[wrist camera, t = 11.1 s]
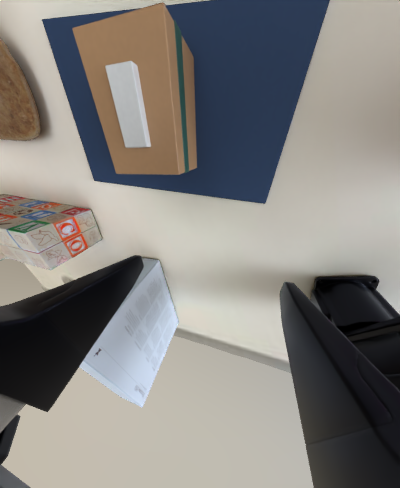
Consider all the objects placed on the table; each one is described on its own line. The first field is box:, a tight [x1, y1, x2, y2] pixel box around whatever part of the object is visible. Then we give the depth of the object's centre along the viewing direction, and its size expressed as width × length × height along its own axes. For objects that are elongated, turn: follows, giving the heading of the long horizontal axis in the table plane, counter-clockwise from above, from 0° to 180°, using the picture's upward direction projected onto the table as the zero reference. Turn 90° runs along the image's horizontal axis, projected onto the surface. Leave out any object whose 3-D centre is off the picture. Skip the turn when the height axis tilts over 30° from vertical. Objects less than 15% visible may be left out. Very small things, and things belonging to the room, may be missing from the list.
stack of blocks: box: [0, 194, 102, 270], centre depth 23 cm, size 21×6×12 cm, turn 89°
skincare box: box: [79, 258, 179, 407], centre depth 27 cm, size 21×6×16 cm, turn 7°
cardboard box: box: [72, 3, 197, 175], centre depth 13 cm, size 6×8×6 cm
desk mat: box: [42, 0, 330, 204], centre depth 15 cm, size 24×14×1 cm, turn 88°
